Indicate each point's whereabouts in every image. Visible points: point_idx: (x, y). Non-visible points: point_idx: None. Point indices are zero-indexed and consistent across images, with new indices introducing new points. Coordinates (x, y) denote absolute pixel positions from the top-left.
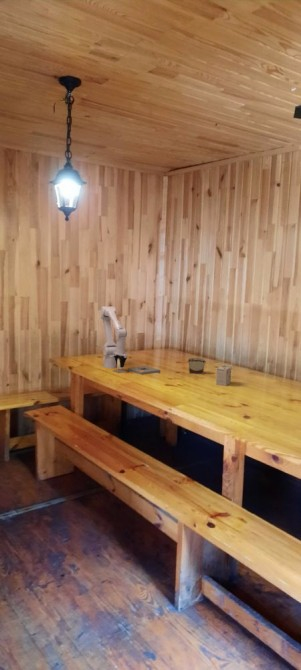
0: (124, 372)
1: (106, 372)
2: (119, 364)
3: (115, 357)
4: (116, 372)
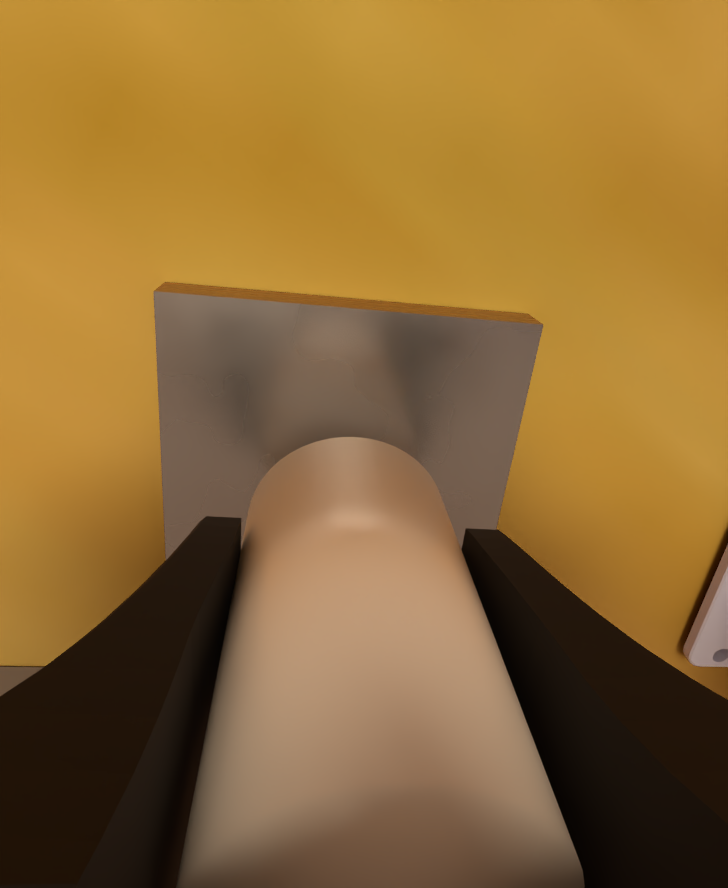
0: (165, 506)
1: (635, 166)
2: (274, 561)
3: (716, 808)
4: (272, 302)
